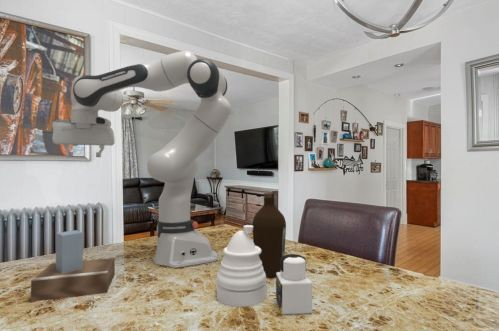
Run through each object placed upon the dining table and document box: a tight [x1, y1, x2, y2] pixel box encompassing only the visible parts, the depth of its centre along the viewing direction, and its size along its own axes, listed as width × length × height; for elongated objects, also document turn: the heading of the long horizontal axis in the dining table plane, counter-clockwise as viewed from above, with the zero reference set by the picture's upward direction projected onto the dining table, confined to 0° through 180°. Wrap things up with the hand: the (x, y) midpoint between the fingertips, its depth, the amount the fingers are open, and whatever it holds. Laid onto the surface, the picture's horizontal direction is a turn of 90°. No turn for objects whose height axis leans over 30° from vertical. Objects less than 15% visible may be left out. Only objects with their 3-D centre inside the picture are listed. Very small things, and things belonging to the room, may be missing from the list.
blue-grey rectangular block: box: [55, 229, 84, 274], centre depth 80 cm, size 5×5×10 cm
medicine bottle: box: [275, 253, 313, 315], centre depth 68 cm, size 7×7×12 cm
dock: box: [30, 257, 116, 302], centre depth 80 cm, size 17×14×5 cm
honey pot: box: [216, 224, 267, 308], centre depth 75 cm, size 13×13×18 cm
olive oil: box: [252, 192, 287, 278], centre depth 91 cm, size 11×11×25 cm
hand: (84, 157), depth 108 cm, fingers open, 8 cm apart
